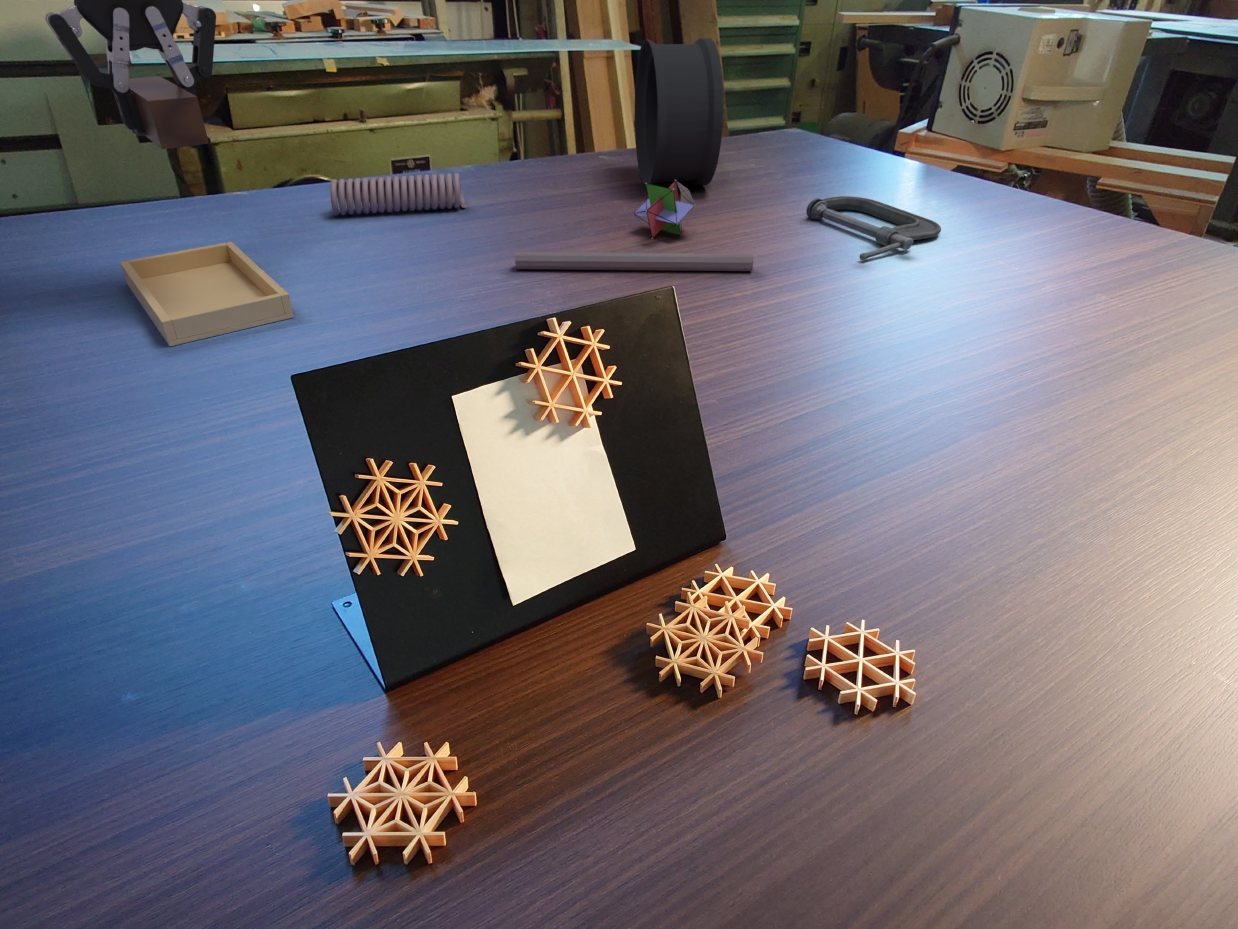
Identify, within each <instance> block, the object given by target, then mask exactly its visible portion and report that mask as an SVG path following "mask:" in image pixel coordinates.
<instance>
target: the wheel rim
mask: <svg viewBox="0 0 1238 929" xmlns="http://www.w3.org/2000/svg"><path fill="white" fill-rule="evenodd" d="M723 80H724V79H723V71H722V63H721V58H720V53H719V49H718V47H717V45H716V42H715V41H714V40H713V39H712V38H708V37H700V38H698V39H696V40H695V42H694V43H668V44H667V43H666V44H665V43H663V44H662V43H661V44H660V43H659V44H657V43H655V42H654V41H652V40H651V39H649V38H647V39H646V38H645V39H644V40H643V41H642V43H641V46H640V49H639V53H638V59H637V66H636V73H635V85H634V134H635V135H634V139H635V152H636V162H637V167H638V172H639V176H640V180H641V182H642V185H643V186H644V187H647V186H646V184H645V183H647V184H651V185H654V184H655V182H657V183H664V181H666V182H673V181H674V180H676V181H677V182H692V184H693V185H695V186H698V187H702V186H709V184H710V183H711V182H712V180H713V178H714V175H715V173H716V170H717V166H718V162H719V158H720V157H719V156H720V153H721V147H722V139H723V137H722V136H723V129H724V128H723V127H724V83H723ZM674 182H675V181H674Z"/></svg>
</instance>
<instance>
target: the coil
mask: <svg viewBox="0 0 1238 929" xmlns="http://www.w3.org/2000/svg"><path fill="white" fill-rule="evenodd" d="M329 189H330V190H329V191H330V192H329V193H330V204H331V211H332V215H333V216H334V217H336V216H338V215H339V213H340V215H341V216H346V215H347V213H348V214H349V215H350V216H352V215H354V214H356V215H361V214H362V212H363V213H364V214H366V215H368V214H370V211H371V213H372V214H377V212H379V213H381V214H384V213H385V211H386V212H387V213H392V212H393V211H394V212H395V213H399V212H400V210H401V211H402V212H403V213H405V212H407V211H408V210H409V211H410V212H414V211H415V209H416V210H417V211H419V212H420V211H422V210H423V209H424V210H425V211H429V210H430V209H431V210H434V211H435V210H437V209H440V210H444V209H445V208H446V209H448V210H451V209H452V208H454V209H459V208H460V207H461V208H462V209H465V208H467V206H468V204H467V202H466V201H465V197H464V194H463V188H462V182H461V176H460V173H458V172H454V173H453V174H452V173H451V172H447V174H446V175H445V174H444V173H439V175H437V174H436V173H432V174H431V176H430V175H429V174H424V175H423V176H422V175H421V174H417V175H416V176H414V175H413V174H410V175H409V176H408V177H407V176H406V175H402V176H401V177H399V176H398V175H395V176H393V178H392V177H391V176H389V175H388V176H386V177H385V178H384V177H383V176H379V177H378V178H376V177H375V176H371V177H370V179H369V178H368V177H363V178H360V177H356V178H355V179H353V178H352V177H351V178H350V177H349V178H347V179H344V178H340V179H339V180H337V179H336V178H333V179H331V181H330V187H329Z"/></svg>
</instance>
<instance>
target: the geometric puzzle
mask: <svg viewBox="0 0 1238 929" xmlns="http://www.w3.org/2000/svg"><path fill="white" fill-rule="evenodd" d="M665 182H667V181H663V183H665ZM655 183H658V182H655ZM655 183H654V184H652V185H651V184H647V183H645V184H646V186H644V187H643V189H646V192H645V201H644V202H643V203H642V204H641V205H640V206H639V207H638V208H635V209H634V212H633V213H632V215H634V216H635V218H636V219H640V220H641V221H643V222H645V223H646V224H647V225H648V226H649V231H650V234H649V232H647V234H648V235H650V238H651V240H653V239H656V238H657V237H659V236H660V235H662V234H664V233H665V232H667V233H672V234H676V235H674V236H677V235H678V236H682V235H683V232H684V231H683V230H682V228H681V222H682V220H683V219H684V218H685V217H686V216H687V215H688V213H690V211H691V210H693V209H694V207H695V206H696V203H695V202H694V199H693V195H692V194H691V191H690V189H689V188H688V187H686V185H685V186H684V185H683V184H682V183H680V181H676V180H674V181H671V182H670V183H668V184H667V185H666V186H661V185H655ZM668 186H669V187H668ZM678 189H679V190H678ZM679 191H680V193H679ZM642 194H643V193H641V196H642ZM647 195H648V198H647ZM640 200H641V198H639V199H638V201H640ZM638 205H639V203H637V204H636V206H638ZM692 212H693V211H691V213H690V215H689V216H691V215H692ZM640 216H642V217H645V218H647V221H648V222H647V221H646V220H644V219H643V218H641V217H640ZM640 220H638V222H639V223H641V221H640ZM688 221H689V220H687V221H686V223H685V225H687V224H688ZM641 226H642V227H644V226H643V224H641ZM644 229H645V228H644ZM645 231H647V230H646V229H645ZM660 231H662V232H661V233H659V232H660ZM658 233H659V234H658ZM667 237H670V236H669V235H668V236H666V238H667ZM661 238H662V237H659V239H661Z"/></svg>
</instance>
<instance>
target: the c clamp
mask: <svg viewBox="0 0 1238 929" xmlns="http://www.w3.org/2000/svg"><path fill="white" fill-rule="evenodd" d="M837 210H850V211H856V212H861V213H864V214H865V213H866V214H868V215H871V216H874V217H876V218H878V219H881V220H884V221H887V222H890V223H892V224H895V225H897V226H894V227H889V226H886V225H882V226H881V227H879V226H877V225H873V224H871V223H868V222H866V221H863V220H860V219H858V218H855V217H852V216H850V215H847V214H844V213H841V212H838V211H837ZM805 211H806V216H807V217H808V218H809V219H811V220H820V219H823V218H824V219H825V220H827V221H829V222H832V223H835V224H837V225H839V226H843V227H845V228H847V229H850V230H853V231H854V232H855V231H856V232H857V233H861V234H863V235H866V236H869V237H870V238H873V239H875V242H876V243H878V244H880V245H882V246H883V247H879V248H877V249H873V250H871V251H866V252H861V253H860V254H859V257H858V258H859V260H860V261H866V260H867V259H870V258H873V257H875V256H879V255H882V254H884V253H887V252H891V251H894V250H897V249H902V250H905V251H907V250H909V249H910V248H911V247H912V245H913V244H914V240H915V241H916V240H923V239H929V238H934V237H936V236H939V235H940V233H941V231H942V227H941V225H940V224H939V223H938V222H936V221H934V220H932V219H930V218H927V217H924V216H920V215H918V214H915V213H913V212H909V211H907V210H904V209H901V208H898V207H895V206H892V205H889V204H887V203H884V202H882V201H878V200H874V199H872V198H871V199H870V198H866V197H862V196H861V197H859V196H849V195H840V196H832V197H826V198H822V199H821V198H818V197H817V198H814V199H812V200H811V201H810V202H809V203H808V204H807V207H806V210H805Z"/></svg>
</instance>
